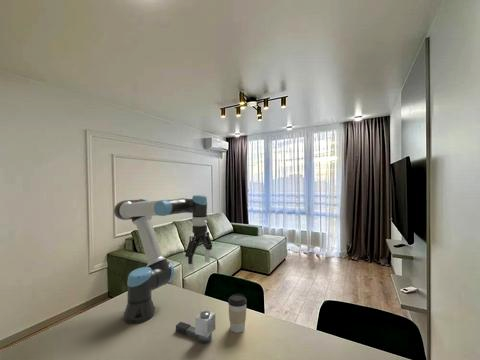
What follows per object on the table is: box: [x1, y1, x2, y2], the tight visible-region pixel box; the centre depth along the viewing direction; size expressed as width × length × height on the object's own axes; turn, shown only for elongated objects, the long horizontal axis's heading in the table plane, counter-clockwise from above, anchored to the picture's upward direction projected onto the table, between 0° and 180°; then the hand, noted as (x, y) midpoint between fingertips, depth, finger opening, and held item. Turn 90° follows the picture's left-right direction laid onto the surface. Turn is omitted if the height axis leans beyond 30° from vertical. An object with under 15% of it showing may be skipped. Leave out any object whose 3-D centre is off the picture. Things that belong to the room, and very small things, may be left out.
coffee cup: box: [227, 292, 248, 334], centre depth 109 cm, size 9×9×15 cm
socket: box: [194, 309, 216, 337], centre depth 101 cm, size 6×6×8 cm
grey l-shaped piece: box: [175, 321, 213, 345], centre depth 103 cm, size 18×6×8 cm, turn 64°
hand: (199, 265), depth 117 cm, fingers open, 13 cm apart
